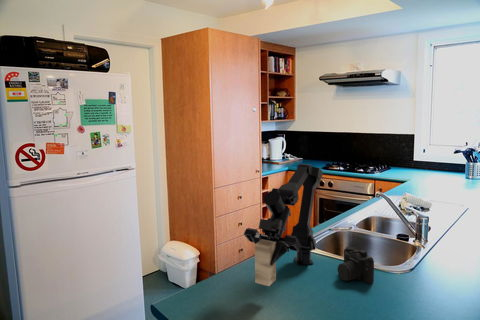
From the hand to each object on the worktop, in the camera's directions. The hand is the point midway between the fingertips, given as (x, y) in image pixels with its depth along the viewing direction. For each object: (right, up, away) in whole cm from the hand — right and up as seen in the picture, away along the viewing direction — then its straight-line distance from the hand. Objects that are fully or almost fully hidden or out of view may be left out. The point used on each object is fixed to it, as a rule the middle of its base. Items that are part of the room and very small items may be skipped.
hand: (263, 263), depth 116 cm
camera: (+34, -10, +18) cm, 39 cm away
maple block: (+1, -6, +2) cm, 7 cm away
